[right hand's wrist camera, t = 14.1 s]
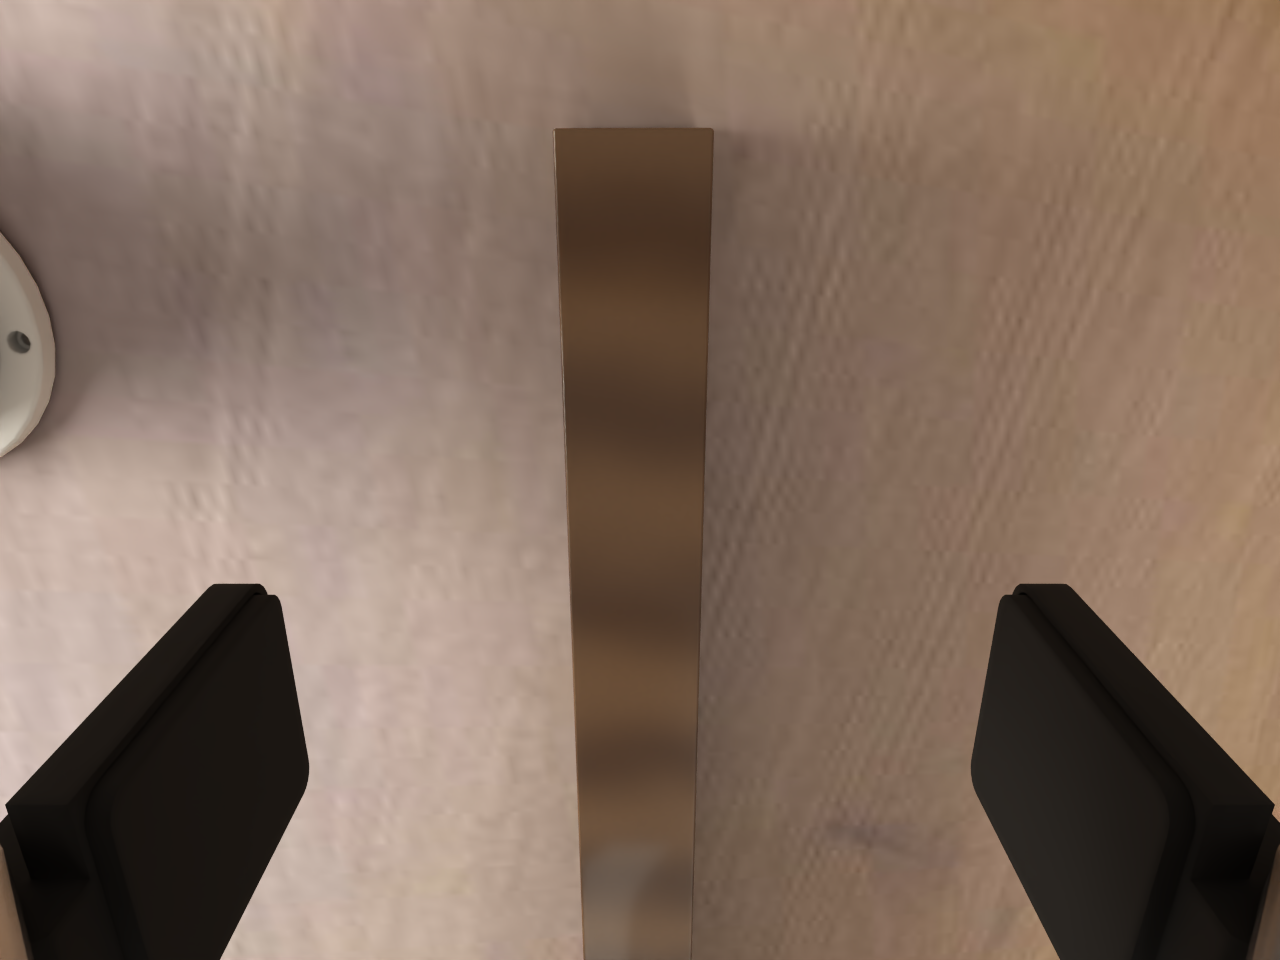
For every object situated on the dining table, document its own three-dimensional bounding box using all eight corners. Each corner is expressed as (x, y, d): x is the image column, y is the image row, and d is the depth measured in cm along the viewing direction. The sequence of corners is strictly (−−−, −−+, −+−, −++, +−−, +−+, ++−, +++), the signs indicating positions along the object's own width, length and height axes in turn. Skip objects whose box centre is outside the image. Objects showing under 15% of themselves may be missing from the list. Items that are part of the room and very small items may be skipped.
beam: (572, 128, 32) (552, 128, 25) (696, 127, 32) (714, 128, 25) (601, 1115, 53) (595, 1274, 45) (676, 1114, 53) (682, 1274, 45)
